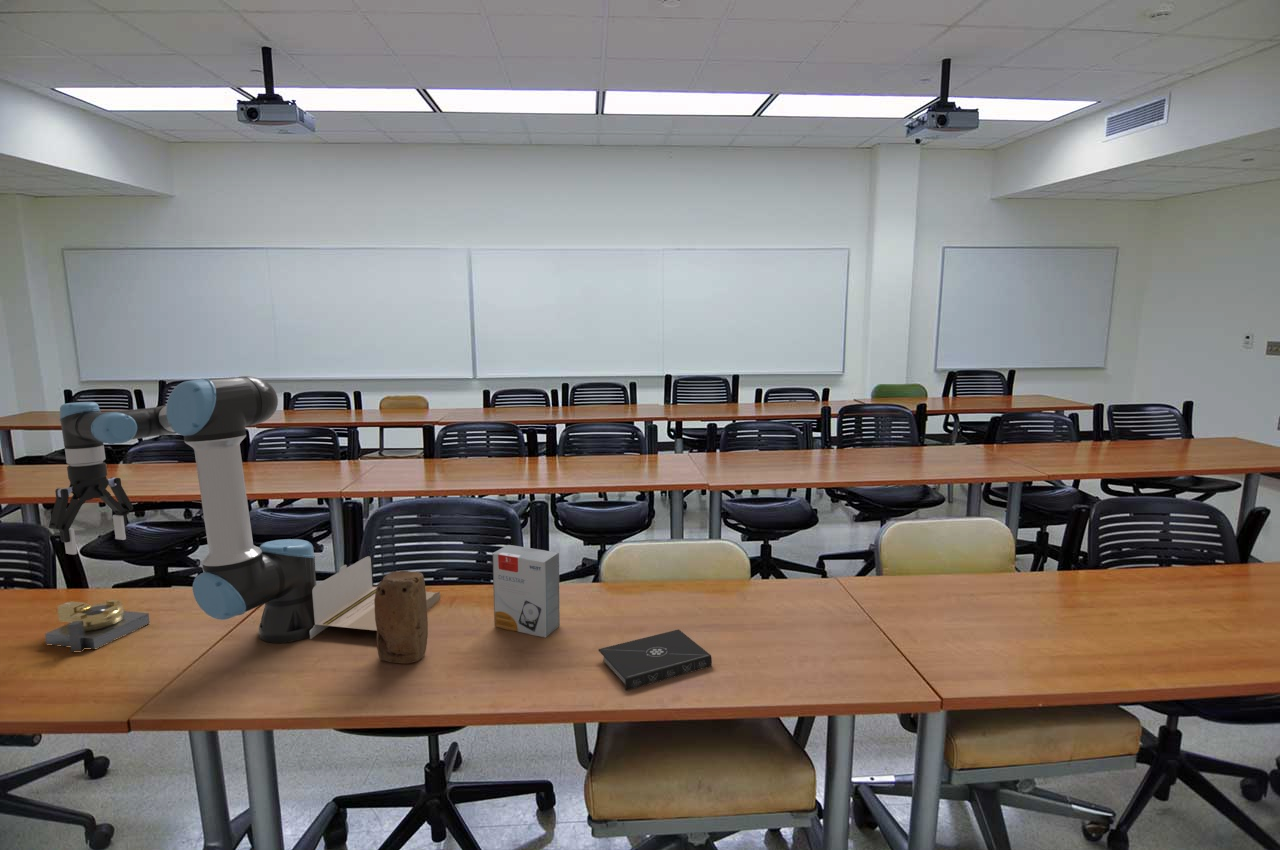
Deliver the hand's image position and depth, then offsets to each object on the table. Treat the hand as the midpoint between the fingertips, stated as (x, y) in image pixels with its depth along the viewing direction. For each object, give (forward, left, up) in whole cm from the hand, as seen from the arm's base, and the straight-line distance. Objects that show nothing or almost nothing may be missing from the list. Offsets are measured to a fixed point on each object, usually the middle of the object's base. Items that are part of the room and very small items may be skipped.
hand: (97, 546), depth 164 cm
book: (-146, -4, -21) cm, 147 cm away
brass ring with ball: (-4, +7, -17) cm, 19 cm away
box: (-70, -14, -21) cm, 75 cm away
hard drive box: (-111, -16, -20) cm, 114 cm away
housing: (-7, +8, -20) cm, 23 cm away
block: (-88, +4, -20) cm, 90 cm away
